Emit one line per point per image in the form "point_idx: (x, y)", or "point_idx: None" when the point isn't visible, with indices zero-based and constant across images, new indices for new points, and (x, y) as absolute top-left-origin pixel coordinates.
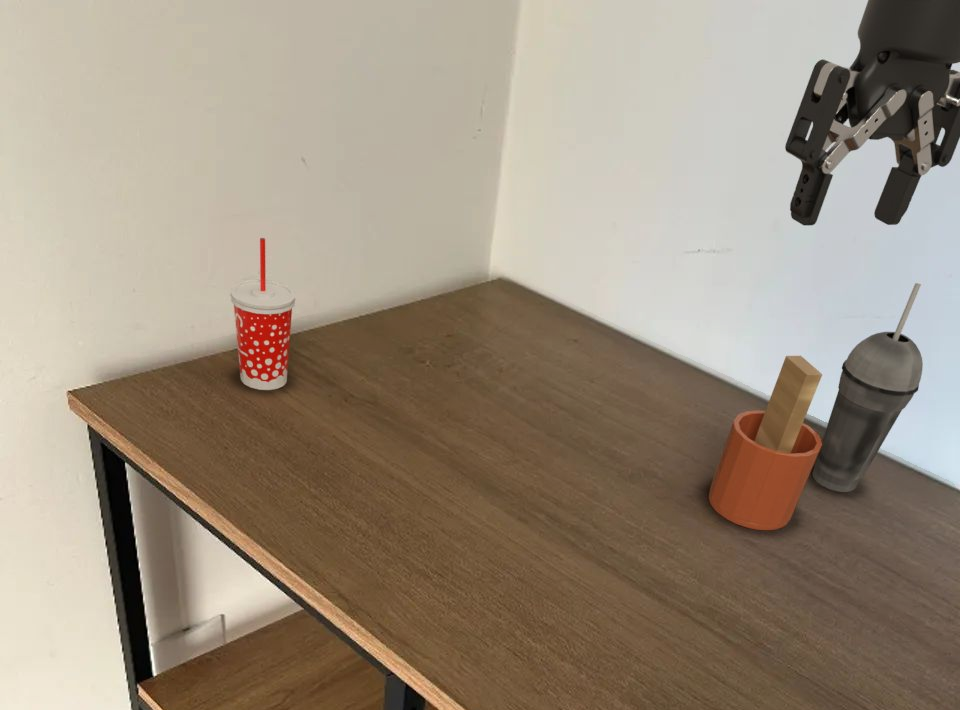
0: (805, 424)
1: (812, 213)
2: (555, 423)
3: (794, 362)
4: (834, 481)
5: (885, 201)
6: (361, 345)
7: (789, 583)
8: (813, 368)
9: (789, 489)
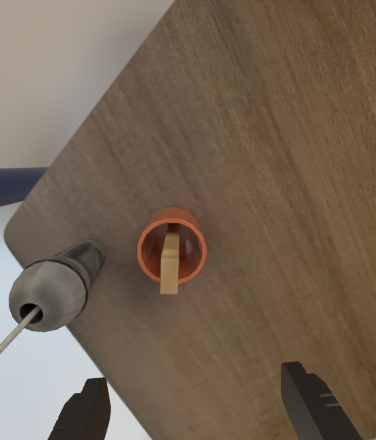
0: (139, 261)
1: (307, 374)
2: (256, 335)
3: (177, 281)
4: (98, 245)
5: (100, 430)
6: None
7: (194, 153)
8: (163, 269)
9: (171, 212)
